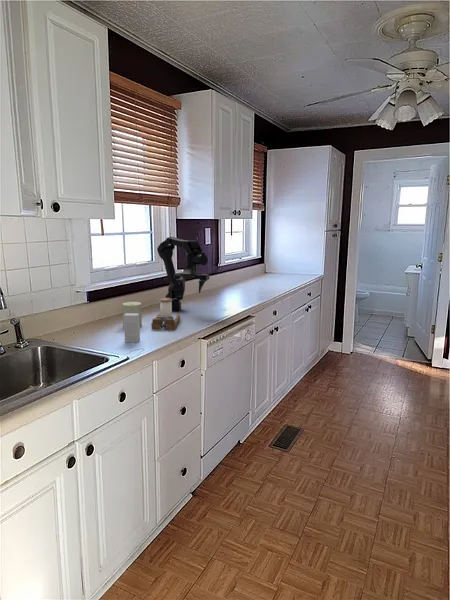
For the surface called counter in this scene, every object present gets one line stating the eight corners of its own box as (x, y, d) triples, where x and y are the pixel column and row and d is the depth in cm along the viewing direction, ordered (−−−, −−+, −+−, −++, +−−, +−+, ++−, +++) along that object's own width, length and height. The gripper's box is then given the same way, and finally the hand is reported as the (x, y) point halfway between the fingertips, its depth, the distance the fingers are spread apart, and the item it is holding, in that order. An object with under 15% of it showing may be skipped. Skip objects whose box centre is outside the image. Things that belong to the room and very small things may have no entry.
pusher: (157, 324, 207) (157, 316, 206) (173, 325, 207) (173, 316, 206) (154, 329, 199) (154, 320, 199) (171, 329, 199) (171, 320, 198)
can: (123, 329, 200) (122, 304, 198) (122, 324, 209) (121, 301, 206) (142, 328, 202) (142, 304, 200) (141, 323, 211) (140, 300, 209)
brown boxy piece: (158, 319, 220) (158, 310, 219) (179, 319, 220) (179, 310, 219) (151, 329, 200) (151, 319, 199) (175, 329, 200) (175, 319, 199)
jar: (157, 324, 210) (157, 299, 207) (166, 322, 214) (165, 297, 212) (166, 326, 206) (165, 300, 204) (174, 324, 211) (174, 298, 208)
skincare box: (140, 339, 184) (139, 313, 181) (138, 342, 179) (137, 315, 177) (126, 339, 183) (125, 313, 181) (124, 342, 179) (123, 315, 177)
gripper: (169, 264, 220) (169, 293, 223) (202, 266, 214) (202, 296, 217) (178, 262, 230) (178, 290, 233) (209, 264, 225) (209, 292, 228)
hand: (191, 292), depth 227 cm, fingers open, 9 cm apart
